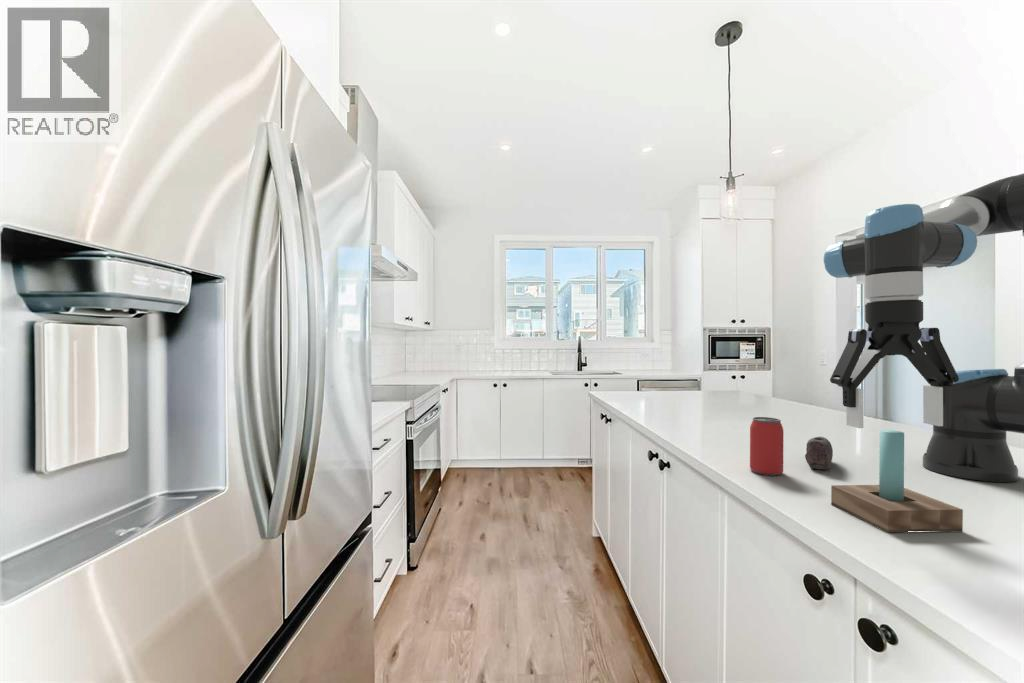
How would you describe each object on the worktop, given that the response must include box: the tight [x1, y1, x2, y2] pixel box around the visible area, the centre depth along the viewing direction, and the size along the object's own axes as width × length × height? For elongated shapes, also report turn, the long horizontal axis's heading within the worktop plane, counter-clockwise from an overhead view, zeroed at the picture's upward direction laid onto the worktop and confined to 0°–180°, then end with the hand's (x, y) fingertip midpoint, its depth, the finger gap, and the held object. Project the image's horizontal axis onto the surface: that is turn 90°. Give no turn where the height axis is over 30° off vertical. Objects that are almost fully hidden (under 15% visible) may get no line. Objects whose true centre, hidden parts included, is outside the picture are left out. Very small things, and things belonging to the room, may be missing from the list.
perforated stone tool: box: [804, 436, 834, 470], centre depth 108 cm, size 15×5×7 cm, turn 141°
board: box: [830, 484, 964, 533], centre depth 77 cm, size 12×12×4 cm
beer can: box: [749, 416, 784, 477], centre depth 103 cm, size 7×7×12 cm
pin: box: [878, 429, 905, 502], centre depth 77 cm, size 3×3×14 cm
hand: (894, 425), depth 77 cm, fingers open, 13 cm apart
